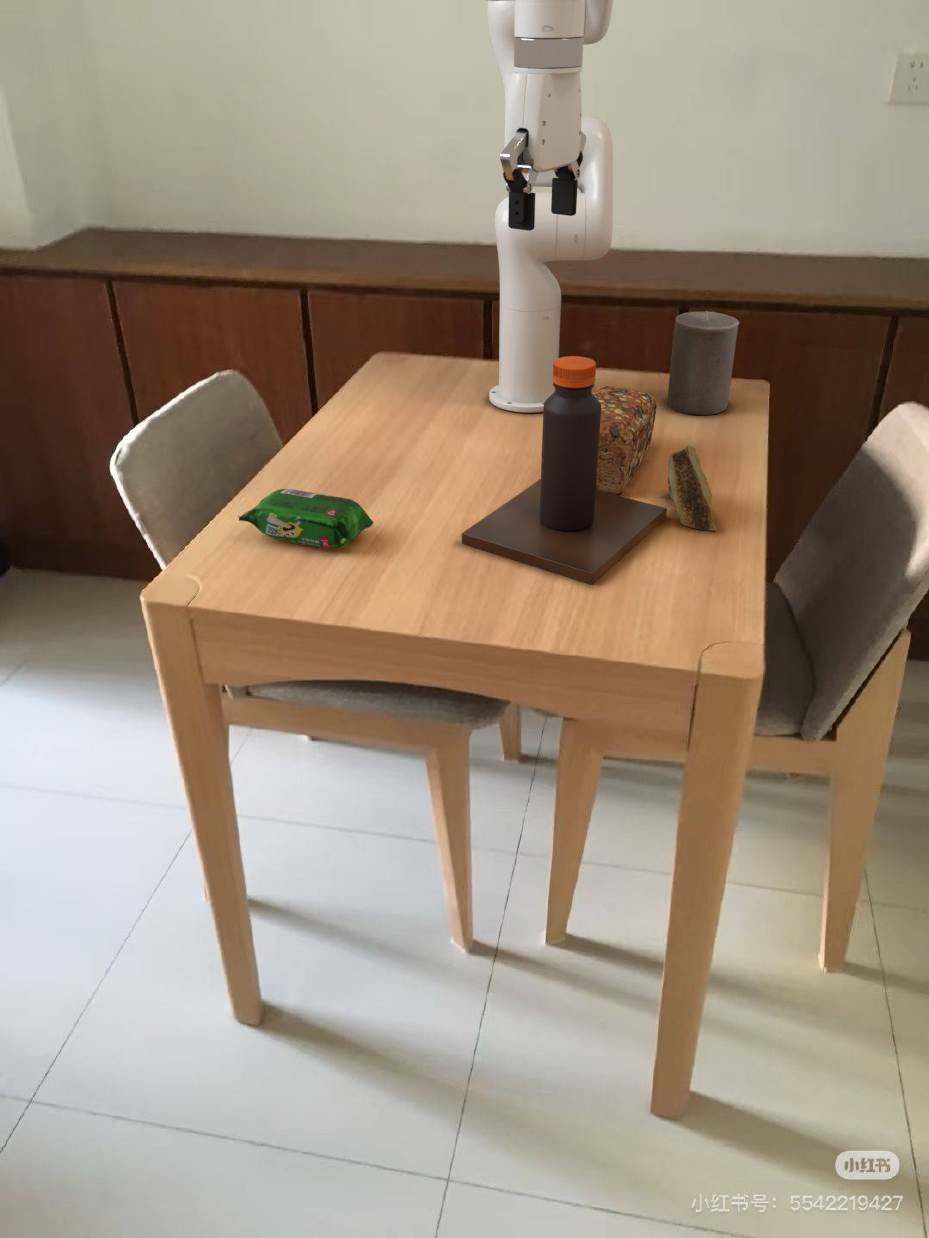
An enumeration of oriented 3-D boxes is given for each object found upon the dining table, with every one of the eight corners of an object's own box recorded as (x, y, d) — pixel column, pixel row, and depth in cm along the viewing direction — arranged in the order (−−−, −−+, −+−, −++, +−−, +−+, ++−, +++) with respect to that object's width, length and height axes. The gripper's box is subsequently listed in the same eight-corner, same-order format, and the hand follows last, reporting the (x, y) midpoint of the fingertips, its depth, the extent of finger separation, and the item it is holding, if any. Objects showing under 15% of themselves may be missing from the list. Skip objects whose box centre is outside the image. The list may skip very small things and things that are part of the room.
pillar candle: (664, 413, 162) (674, 318, 154) (668, 392, 170) (677, 301, 162) (727, 418, 160) (740, 322, 152) (728, 396, 168) (741, 304, 160)
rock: (652, 471, 137) (632, 491, 129) (697, 426, 133) (680, 444, 124) (708, 528, 137) (692, 552, 129) (756, 486, 133) (743, 507, 124)
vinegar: (590, 507, 130) (600, 352, 120) (597, 531, 125) (608, 371, 114) (537, 508, 130) (542, 353, 119) (541, 533, 124) (547, 372, 114)
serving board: (544, 485, 139) (544, 475, 138) (666, 518, 131) (667, 508, 130) (461, 543, 125) (461, 533, 125) (591, 585, 117) (592, 573, 116)
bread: (624, 499, 135) (630, 428, 130) (547, 487, 139) (549, 417, 133) (655, 447, 150) (662, 381, 145) (585, 438, 153) (589, 373, 148)
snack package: (267, 515, 132) (262, 478, 130) (377, 533, 128) (374, 495, 125) (238, 540, 127) (232, 502, 124) (352, 560, 122) (349, 521, 119)
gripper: (557, 51, 119) (552, 206, 129) (475, 60, 107) (475, 231, 116) (615, 53, 116) (605, 212, 125) (537, 63, 104) (532, 239, 113)
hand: (542, 221), depth 121 cm, fingers open, 9 cm apart
